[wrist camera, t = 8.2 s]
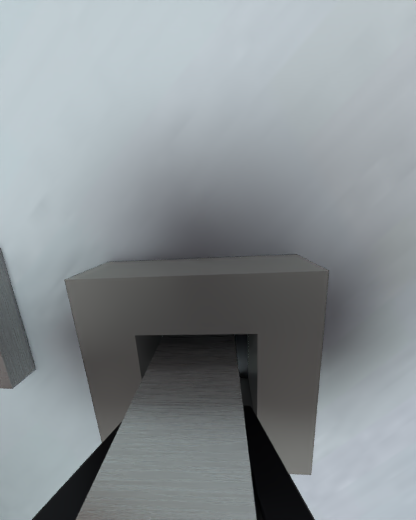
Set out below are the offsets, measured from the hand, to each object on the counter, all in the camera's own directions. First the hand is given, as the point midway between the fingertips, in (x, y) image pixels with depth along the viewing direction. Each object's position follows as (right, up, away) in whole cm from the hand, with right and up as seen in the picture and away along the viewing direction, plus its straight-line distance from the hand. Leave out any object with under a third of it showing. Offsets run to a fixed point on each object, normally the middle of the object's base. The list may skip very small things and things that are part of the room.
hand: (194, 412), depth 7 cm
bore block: (0, +1, +4) cm, 4 cm away
